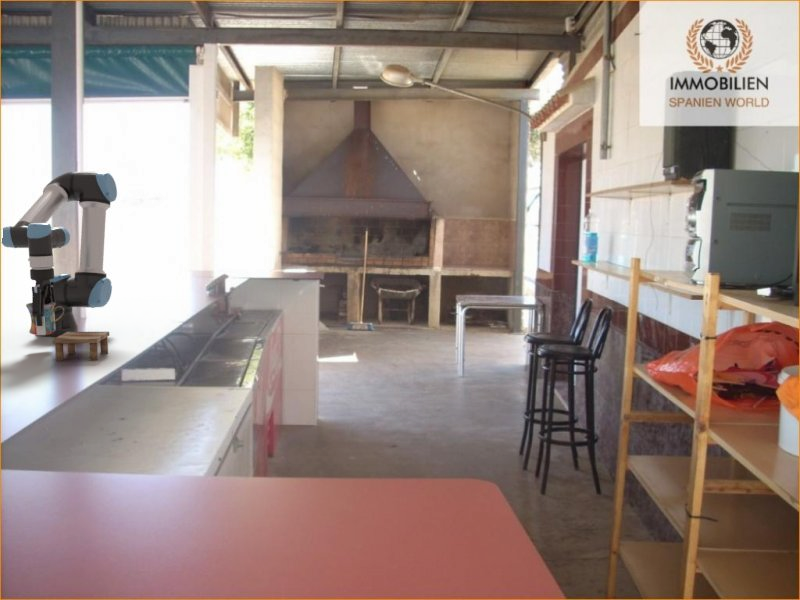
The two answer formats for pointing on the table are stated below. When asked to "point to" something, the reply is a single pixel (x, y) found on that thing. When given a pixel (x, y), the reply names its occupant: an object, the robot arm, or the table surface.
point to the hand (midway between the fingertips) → (46, 332)
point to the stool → (81, 338)
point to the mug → (48, 318)
